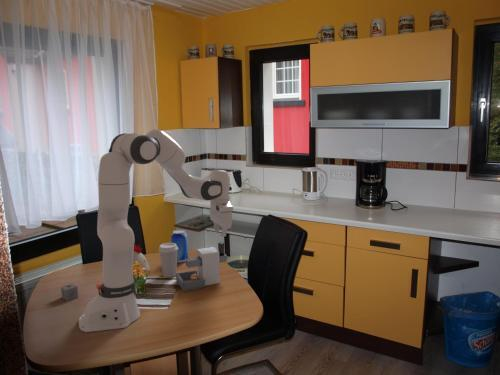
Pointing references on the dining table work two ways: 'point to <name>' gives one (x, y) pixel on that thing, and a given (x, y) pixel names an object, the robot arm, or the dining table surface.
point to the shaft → (198, 261)
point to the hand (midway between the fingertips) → (220, 233)
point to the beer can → (180, 244)
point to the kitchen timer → (140, 257)
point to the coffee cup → (168, 259)
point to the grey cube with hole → (69, 292)
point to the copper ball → (194, 277)
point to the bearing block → (209, 265)
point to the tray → (185, 282)
